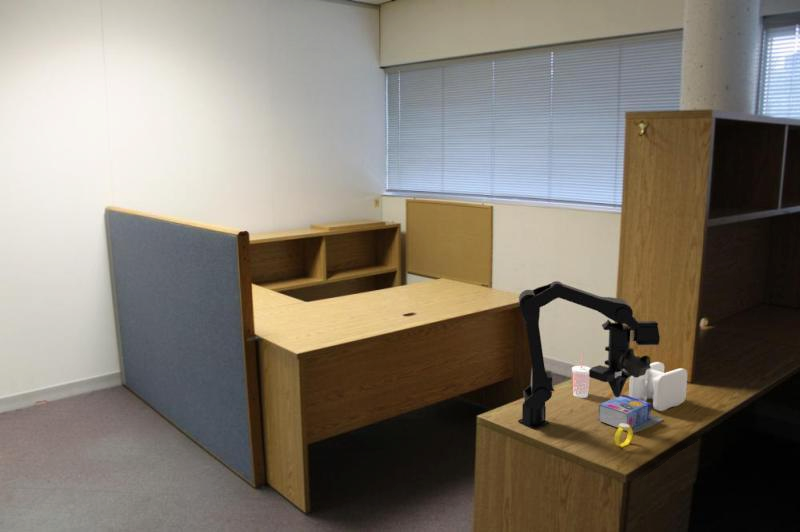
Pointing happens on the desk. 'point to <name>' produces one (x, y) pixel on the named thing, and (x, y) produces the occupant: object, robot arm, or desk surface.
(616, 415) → the ink cartridge box
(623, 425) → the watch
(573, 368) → the beverage cup
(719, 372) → the desk surface
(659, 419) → the mat
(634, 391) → the cable organizer
